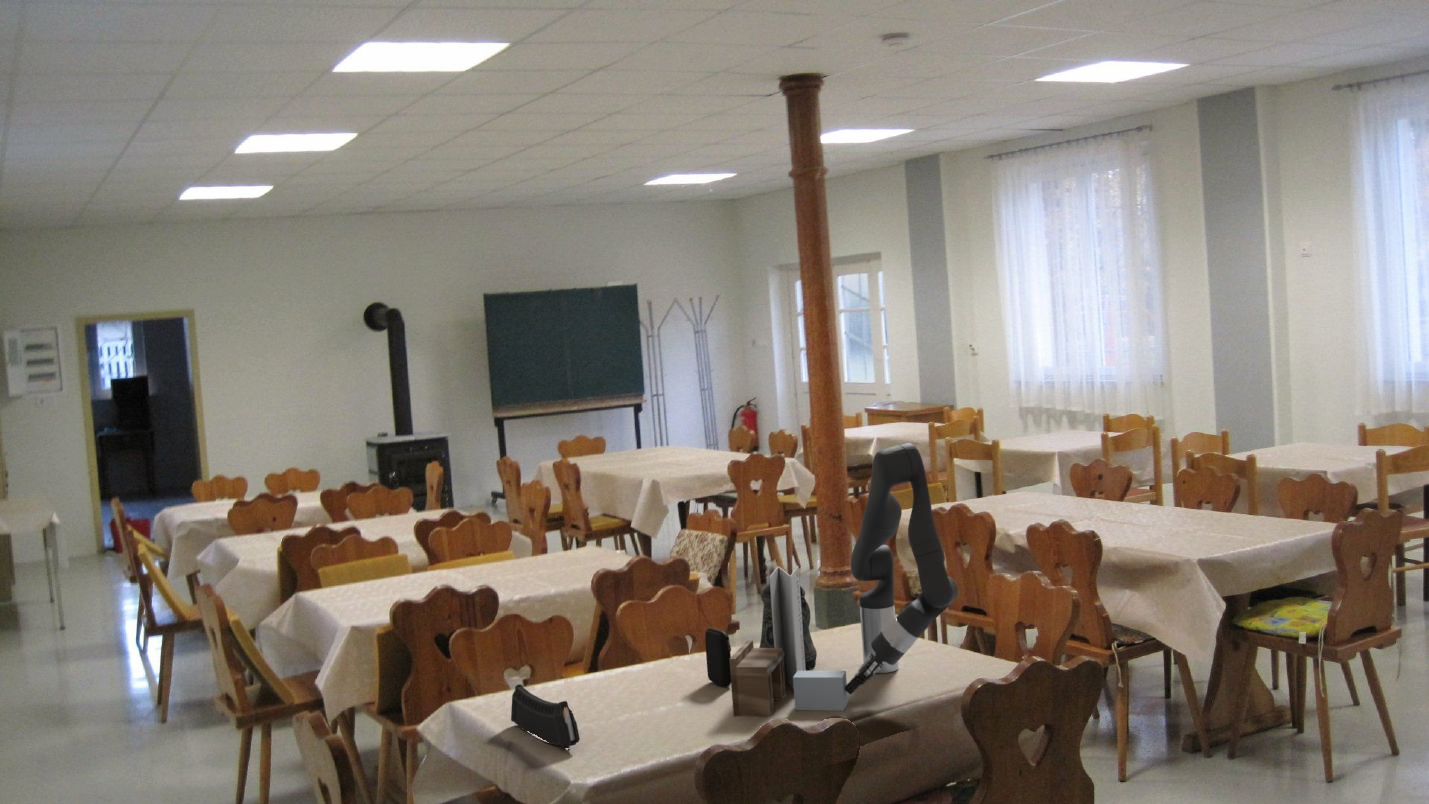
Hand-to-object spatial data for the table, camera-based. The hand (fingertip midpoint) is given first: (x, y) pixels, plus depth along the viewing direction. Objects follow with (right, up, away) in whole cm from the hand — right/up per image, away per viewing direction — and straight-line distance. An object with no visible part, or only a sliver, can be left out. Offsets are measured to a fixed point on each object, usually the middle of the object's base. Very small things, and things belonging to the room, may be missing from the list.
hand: (847, 691), depth 297 cm
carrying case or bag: (-30, -5, +26) cm, 41 cm away
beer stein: (-11, -3, +41) cm, 42 cm away
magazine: (-72, -10, -8) cm, 73 cm away
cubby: (-21, -5, +6) cm, 22 cm away
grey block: (-6, -4, +2) cm, 8 cm away
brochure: (-12, -4, +21) cm, 25 cm away
